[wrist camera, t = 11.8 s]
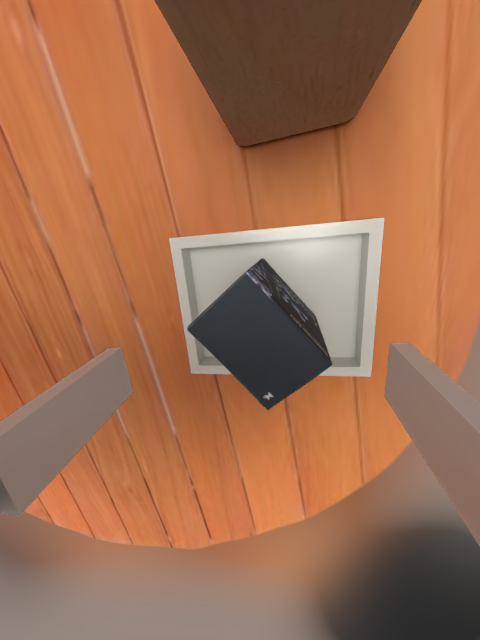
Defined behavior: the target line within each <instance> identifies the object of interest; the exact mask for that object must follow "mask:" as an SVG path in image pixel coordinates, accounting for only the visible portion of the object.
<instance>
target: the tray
mask: <svg viewBox="0 0 480 640" xmlns="http://www.w3.org/2000/svg"><path fill="white" fill-rule="evenodd" d="M383 227H384V218H376V219H365V220H355V221H344V222H334V223H324V224H313V225H303V226H292V227H282V228H271V229H261V230H251V231H240V232H230V233H219V234H209V235H198V236H188V237H177V238H169V241H170V247H171V253H172V259H173V265H174V271H175V278H176V284H177V290H178V296H179V302H180V308H181V314H182V320H183V326H184V332H185V339H186V345H187V351H188V357H189V363H190V369H191V374H231V372H229V371H228V370H227V369H226V368H225V367H224V365H223V364H222V363H220V362H219V361H218V360H217V359H216V358H215V357H214V356H213V355H212V354H211V353H210V352H209V351H208V350H207V349H206V348H205V347H204V346H203V345H202V344H201V343H200V342H199V341H198V340H197V339H196V338H194V337H193V336H192V335H191V334H190V333H188V331H187V327H188V326H189V325H190V324H191V323H192V322H193V321H194V320H195V319H196V318H197V317H198V316H199V315H200V314H201V313H202V312H203V311H204V310H205V309H207V308H208V307H209V306H210V305H211V304H212V303H213V302H214V301H215V300H216V299H217V298H218V297H219V296H220V295H221V294H222V293H223V292H225V291H226V290H227V289H228V288H229V287H230V286H231V285H232V284H233V283H234V282H235V281H236V280H237V279H238V278H239V277H240V276H242V275H243V274H244V273H245V272H246V271H247V270H248V269H249V268H251V267H252V266H253V265H254V264H256V263H257V262H258V261H259V260H260V259H262V258H264V259H265V260H266V261H267V262H268V264H269V265H270V266H271V267H272V268H273V269H274V270H275V272H276V273H277V274H278V275H279V276H280V277H281V278H282V279H283V281H285V283H286V284H287V285H288V286H289V287H290V288H291V289H292V290H293V291H294V293H296V295H297V296H298V297H299V298H300V299H301V300H302V301H303V302H304V303H305V305H306V306H307V307H308V308H309V309H310V310H311V311H312V312H313V313H314V314H315V316H316V318H317V321H318V324H319V327H320V330H321V333H322V335H323V338H324V341H325V344H326V347H327V350H328V353H329V355H330V359H331V361H332V366H331V367H329V368H328V369H327V370H325V371H324V372H322V373H321V374H320V375H318V376H359V377H371V371H372V359H373V347H374V335H375V323H376V311H377V299H378V287H379V275H380V263H381V251H382V239H383Z"/></svg>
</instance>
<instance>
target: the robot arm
mask: <svg viewBox="0 0 480 640" xmlns="http://www.w3.org/2000/svg"><path fill="white" fill-rule="evenodd" d="M132 393H133V390H132V386H131V382H130V378H129V375H128V371H127V367H126V363H125V359H124V355H123V351H122V348H108V349H106V350H105V351H103V352H102V353H100V354H99V355H97V356H96V357H94V358H93V359H91V360H90V361H88V362H87V363H86V364H84V365H83V366H81V367H80V368H78V369H77V370H75V371H74V372H72V373H71V374H69V375H68V376H66V377H65V378H63V379H62V380H60V381H59V382H58V383H56V384H55V385H53V386H52V387H50V388H49V389H47V390H46V391H44V392H43V393H41V394H40V395H38V396H37V397H35V398H34V399H32V400H31V401H30V402H28V403H27V404H25V405H24V406H22V407H21V408H19V409H18V410H16V411H15V412H13V413H12V414H10V415H9V416H7V417H6V418H4V419H3V420H2V421H0V513H3V514H13V515H21V514H22V513H23V512H24V511H25V509H26V508H27V507H28V506H29V505H30V504H31V503H32V502H33V501H34V500H35V499H36V497H37V496H38V495H39V494H40V493H41V492H42V491H43V490H44V489H45V488H46V487H47V485H48V484H49V483H50V482H51V481H52V480H53V479H54V478H55V477H56V476H57V475H58V473H59V472H60V471H61V470H62V469H63V468H64V467H65V466H66V465H67V464H68V463H69V461H70V460H71V459H72V458H73V457H74V456H75V455H76V454H77V453H78V452H79V450H80V449H81V448H82V447H83V446H84V445H85V444H86V443H87V442H88V441H89V440H90V438H91V437H92V436H93V435H94V434H95V433H96V432H97V431H98V430H99V429H100V428H101V426H102V425H103V424H104V423H105V422H106V421H107V420H108V419H109V418H110V417H111V416H112V414H113V413H114V412H115V411H116V410H117V409H118V408H119V407H120V406H121V405H122V404H123V402H124V401H125V400H126V399H127V398H128V397H129V396H130V395H131V394H132ZM384 396H385V398H386V399H387V401H388V402H389V404H390V405H391V407H392V409H393V410H394V412H395V413H396V415H397V417H398V418H399V420H400V421H401V423H402V424H403V426H404V428H405V429H406V431H407V432H408V434H409V435H410V437H411V439H412V440H413V442H414V443H415V445H416V447H417V448H418V449H419V451H420V453H421V454H422V456H423V458H424V459H425V461H426V462H427V464H428V466H429V467H430V469H431V470H432V472H433V473H434V475H435V476H436V478H437V480H438V481H439V483H440V484H441V486H442V488H443V489H444V491H445V492H446V494H447V495H448V497H449V499H450V500H451V502H452V503H453V505H454V506H455V508H456V510H457V511H458V513H459V514H460V516H461V518H462V519H463V521H464V522H465V524H466V526H467V527H468V529H469V530H470V532H471V533H472V535H473V537H474V538H475V540H476V541H477V543H478V544H479V546H480V403H479V402H478V401H476V400H475V399H474V398H473V397H472V396H471V395H469V394H468V393H467V392H466V391H465V390H464V389H462V388H461V387H460V386H459V385H458V384H457V383H456V382H454V381H453V380H452V379H451V378H450V377H449V376H447V375H446V374H445V373H444V372H443V371H442V370H441V369H439V368H438V367H437V366H436V365H435V364H434V363H432V362H431V361H430V360H429V359H428V358H427V357H425V356H424V355H423V354H422V353H421V352H420V351H418V350H417V349H416V348H415V347H414V346H413V345H412V344H410V343H390V350H389V359H388V368H387V377H386V386H385V395H384Z"/></svg>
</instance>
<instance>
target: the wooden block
mask: <svg viewBox="0 0 480 640" xmlns="http://www.w3.org/2000/svg"><path fill="white" fill-rule="evenodd" d="M421 1H422V0H155V2H156V4H157V5H158V7H159V9H160V11H161V12H162V14H163V16H164V18H165V19H166V21H167V23H168V25H169V26H170V28H171V30H172V32H173V33H174V35H175V37H176V39H177V40H178V42H179V44H180V46H181V47H182V49H183V51H184V53H185V54H186V56H187V58H188V60H189V61H190V63H191V65H192V67H193V68H194V70H195V72H196V74H197V75H198V77H199V79H200V81H201V82H202V84H203V86H204V88H205V89H206V91H207V93H208V95H209V96H210V98H211V100H212V102H213V103H214V105H215V107H216V109H217V110H218V112H219V114H220V116H221V117H222V119H223V121H224V123H225V124H226V126H227V128H228V130H229V131H230V133H231V135H232V137H233V138H234V140H235V142H236V144H237V145H242V146H249V145H253V144H258V143H262V142H266V141H270V140H274V139H278V138H282V137H286V136H291V135H295V134H299V133H303V132H307V131H311V130H315V129H319V128H323V127H328V126H332V125H336V124H340V123H344V122H347V121H349V120H350V119H351V118H353V117H354V116H356V115H357V113H358V111H359V109H360V108H361V106H362V104H363V102H364V101H365V99H366V97H367V95H368V94H369V92H370V90H371V88H372V87H373V85H374V83H375V81H376V80H377V78H378V76H379V74H380V73H381V71H382V69H383V67H384V66H385V64H386V62H387V60H388V59H389V57H390V55H391V53H392V52H393V50H394V48H395V46H396V45H397V43H398V41H399V39H400V38H401V36H402V34H403V32H404V31H405V29H406V27H407V25H408V24H409V22H410V20H411V18H412V17H413V15H414V13H415V11H416V10H417V8H418V6H419V4H420V3H421Z"/></svg>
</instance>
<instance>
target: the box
mask: <svg viewBox="0 0 480 640" xmlns="http://www.w3.org/2000/svg"><path fill="white" fill-rule="evenodd" d="M187 331H188V333H190V334H191V335H192V336H193V337H194V338H196V339H197V340H198V341H199V342H200V343H201V344H202V345H203V346H204V347H205V348H206V349H207V350H208V351H209V352H210V353H211V354H212V355H213V356H214V357H215V358H216V359H217V360H218V361H219V362H220V363H222V364H223V365H224V367H225V368H226V369H227V370H228V371H229V372H231V374H232V375H233V376H234V377H235V378H236V379H237V380H238V381H239V382H240V383H241V384H242V385H243V386H244V387H245V388H246V389H247V390H248V391H249V392H250V393H251V394H252V395H253V396H254V397H255V398H256V399H257V400H258V401H259V402H260V403H261V405H262V406H264V408H266V409H267V410H269V409H270V408H272V407H273V406H274V405H276V404H277V403H279V402H280V401H282V400H283V399H284V398H286V397H287V396H289V395H290V394H292V393H293V392H295V391H296V390H298V389H299V388H301V387H302V386H304V385H305V384H307V383H308V382H310V381H311V380H313V379H314V378H315V377H317V376H318V375H320V374H321V373H322V372H324V371H325V370H327V369H328V368H329V367H331V366H332V361H331V359H330V355H329V353H328V350H327V347H326V344H325V341H324V338H323V335H322V333H321V330H320V327H319V324H318V321H317V318H316V316H315V314H314V313H313V312H312V311H311V310H310V309H309V308H308V307H307V306H306V305H305V303H304V302H303V301H302V300H301V299H300V298H299V297H298V296H297V295H296V293H294V291H293V290H292V289H291V288H290V287H289V286H288V285H287V284H286V283H285V281H283V279H282V278H281V277H280V276H279V275H278V274H277V273H276V272H275V270H274V269H273V268H272V267H271V266H270V265H269V264H268V262H267V261H266V260H265V259H264V258H262V259H260V260H259V261H258V262H257V263H256V264H254V265H253V266H252V267H251V268H249V269H248V270H247V271H246V272H245V273H244V274H243V275H242V276H240V277H239V278H238V279H237V280H236V281H235V282H234V283H233V284H232V285H231V286H230V287H229V288H228V289H227V290H226V291H225V292H223V293H222V294H221V295H220V296H219V297H218V298H217V299H216V300H215V301H214V302H213V303H212V304H211V305H210V306H209V307H208V308H207V309H205V310H204V311H203V312H202V313H201V314H200V315H199V316H198V317H197V318H196V319H195V320H194V321H193V322H192V323H191V324H190V325H189V326H188V327H187Z"/></svg>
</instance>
